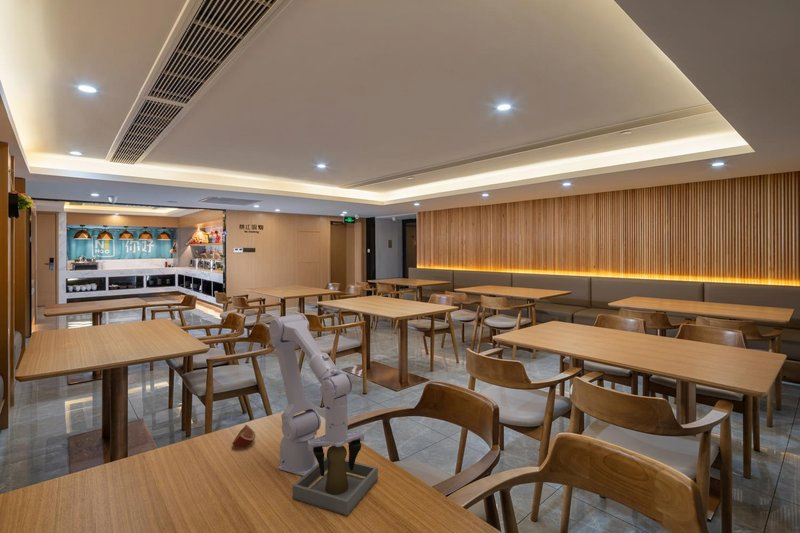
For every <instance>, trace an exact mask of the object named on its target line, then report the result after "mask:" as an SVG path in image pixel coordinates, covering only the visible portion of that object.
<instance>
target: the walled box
mask: <svg viewBox="0 0 800 533" xmlns="http://www.w3.org/2000/svg"><path fill="white" fill-rule="evenodd" d="M328 463H329V460H328V459H327V456H326V457H324V476H321V474H320V468H319V464H317V465H316V466H315V467H314V468H313V469H311V470H310V471H309V472H308V473H307V474H306V475H304V476H302V477H301V478H299V479H298V481H296V482H295V483H294V484H293V485H292V499H293V500H295V501H297V502H298V501H299V502H301V503H305V504H307V505H311V506H314V507H317V508H319V509H324V510H326V511H329V512H332V513H336V514H339V515H342V516H345V517H348V516H349V515H350V513H351V512H352V511H353V510H354V509H355V508H356V506H358V504H359V503H360V502H361V500H363V498H364V497H365V496H366V495H367V494H368V492H370V490H371V489H372V487H373V486H374V485H375V484H376V482H378V480H379V478H378V477H379V475H378V474H379V473H378V472H379V468H378V467H376V466H373V465H368V464H365V463H362V462H361V463H360V462H357V461H355V463H354V468H353V470H350V468H349V459H345V465H346V472H347V479H348V490H347V491H346V492H345V493H343V494H340V495H331V494H328V493H327V492H326V490H325V487H326V479H327V471H328Z"/></svg>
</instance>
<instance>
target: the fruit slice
mask: <svg viewBox="0 0 800 533" xmlns="http://www.w3.org/2000/svg"><path fill="white" fill-rule="evenodd" d="M255 439H256V433H255V431H254V429H253V428H252V427H250V426H249V424H245V426H243V427H242V428H241V429H240V430H239V432H238V433H237V435H236V437H235V438H234V439H233V441H232V445H234V446H235V447H238V448H239V447H240V448H242V447H246V446H248V445H250V444H251V443H252V442H254V441H255Z"/></svg>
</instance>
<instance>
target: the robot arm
mask: <svg viewBox="0 0 800 533" xmlns="http://www.w3.org/2000/svg"><path fill="white" fill-rule="evenodd" d="M268 333H269V337H270V341H271V345H272V347H273V348H275V349H276V350H275V351H276V356H277V359H278V363H279V369H280V374H281V378H282V382H283V387H284V390H285V396H286V399H287V400H286V401H287V407H286V408H285V409H284V411H283V413H282V414H281V423H282V424H281V430H282V431H281V432H282V434H283V437H282V438H281V440H280V445H279V466H278V470H281V471H285V472H287V473H292V474H294V475H298V476H302V477H303V476H304V475H306V474H307V473H308V472H309V471H310V470H311V469H313V468H314V467H315V466H316V465H317V464H319V468H320V474H321V476H324V458H325V452H324V448H325V447H331V446H336V447H340V446H345V445H344V444H347V445H348V460H349V468H350V470H353V468H354V463H355V462H356V459H357V458H358V454H359V452H360V451H361V449H362V443H361V442H365V433H364V431H363V430H359V431H358V430H357V431H356V430H355V431H348V429H349V428H348V423H349V422H348V395H349V394H351V392H352V390H353V382H352V379H351V377H350V375H349V374H348V373H347V372H345V371H343V370H342V369H339V368H338V367H337V365H336V364H335V363H334V362H333V360H332V358H331V357H330V355H329V354H328V353H327V352H323V351H321V350H320V347H319V346H318V344H317V342H316V340H315V339H314V337H313V335H312V334H311V331H310V321H309V320H308V318H307V317H306V315H305V314H303V313H300V312H299V313H298V314H290V315H285V316H275V317H272V318H271V320H270V323H269V327H268ZM296 345H298V347H299V348H300V349H301V351H303V353H304V354H305V355H306V356H307V358H308V359H309V363H308V365H309V366H308V367H309V368H310V369H311V372H312V373H313V375H315V377H316V378H317V380H318V382H319V383H320V386H319V389H320V393H321V396H322V402H323V405H324V407H325V409H324V412H325V414H324V416H325V417H324V418H325V420H324V422H325V423H324V424H325V429H324V430H325V434H324V435H321V436H318V437H315V436H317V435H318V434H317V433H318V432H317V431H319V430H320V428H321V424H322V421H321V420H322V419H321V416H320V413H319V411H318V410H317V408H316V405H315V403H314V402H313V403H312V402H311V401H309V400H308V399H307V396H306V392H305V388H304V384H303V380H302V375H301V371H300V366H299V363H298V358H297V354H296V350H295V349H296Z"/></svg>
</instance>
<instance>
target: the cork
mask: <svg viewBox="0 0 800 533" xmlns="http://www.w3.org/2000/svg"><path fill="white" fill-rule="evenodd" d="M347 454H348V453H347V448H346V447H345V445H343V446H340V447H336V446H328V449H327V450H326V457H327V459H328V460H329V463H328V471H327V479H326V487H325V490H326V492H327V493H328V494H331V495H340V494H343V493H345V492H346V491H347V490H348V479H347V472H346V465H345V460H346V458H347Z"/></svg>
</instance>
